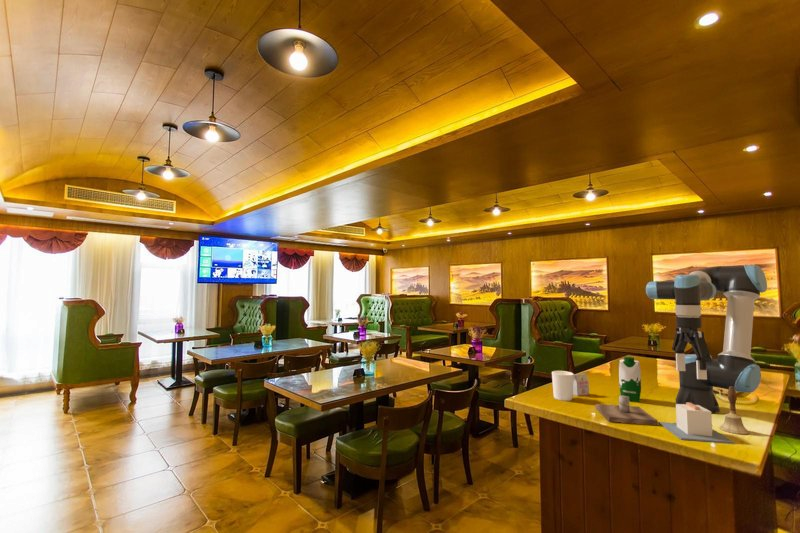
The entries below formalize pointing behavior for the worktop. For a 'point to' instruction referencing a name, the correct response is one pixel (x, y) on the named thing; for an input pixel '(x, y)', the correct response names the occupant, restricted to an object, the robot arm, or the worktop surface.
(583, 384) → the tea bag
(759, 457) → the worktop surface
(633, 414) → the post stand
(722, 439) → the mat
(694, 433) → the white cubic block
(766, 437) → the worktop surface
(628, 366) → the milk carton
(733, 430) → the hand bell
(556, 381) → the candle holder
